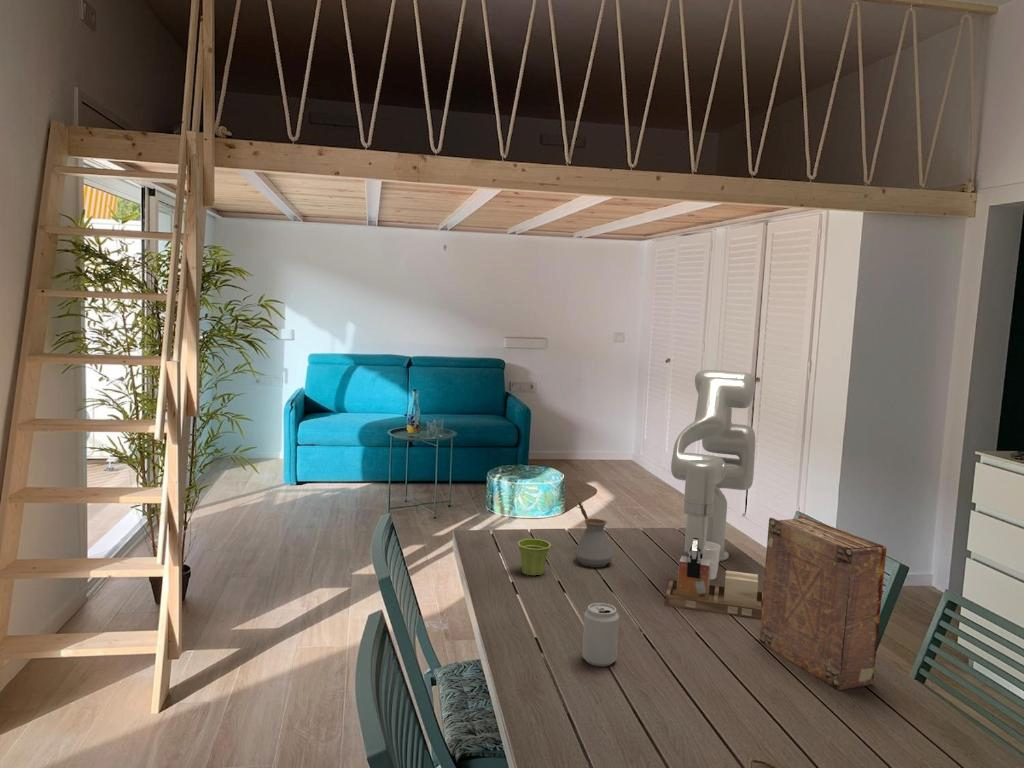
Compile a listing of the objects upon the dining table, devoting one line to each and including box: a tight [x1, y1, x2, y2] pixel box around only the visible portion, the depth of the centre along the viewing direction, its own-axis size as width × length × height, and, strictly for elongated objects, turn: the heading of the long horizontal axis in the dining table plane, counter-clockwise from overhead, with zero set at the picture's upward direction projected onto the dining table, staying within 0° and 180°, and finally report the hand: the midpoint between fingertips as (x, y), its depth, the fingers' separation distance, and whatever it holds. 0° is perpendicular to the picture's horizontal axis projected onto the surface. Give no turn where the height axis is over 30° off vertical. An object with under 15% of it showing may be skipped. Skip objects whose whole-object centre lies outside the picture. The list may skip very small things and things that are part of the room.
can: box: [581, 602, 620, 667], centre depth 174 cm, size 8×8×12 cm
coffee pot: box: [574, 502, 614, 568], centre depth 244 cm, size 21×12×15 cm, turn 14°
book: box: [759, 515, 887, 691], centre depth 177 cm, size 25×9×30 cm, turn 22°
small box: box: [676, 555, 711, 600], centre depth 211 cm, size 8×6×10 cm
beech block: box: [724, 570, 759, 607], centre depth 207 cm, size 6×8×8 cm
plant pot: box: [517, 538, 552, 576], centre depth 229 cm, size 9×9×9 cm
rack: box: [664, 578, 764, 620], centre depth 209 cm, size 14×25×4 cm, turn 74°
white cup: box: [702, 541, 720, 581], centre depth 230 cm, size 8×8×10 cm
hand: (694, 570), depth 211 cm, fingers open, 9 cm apart
